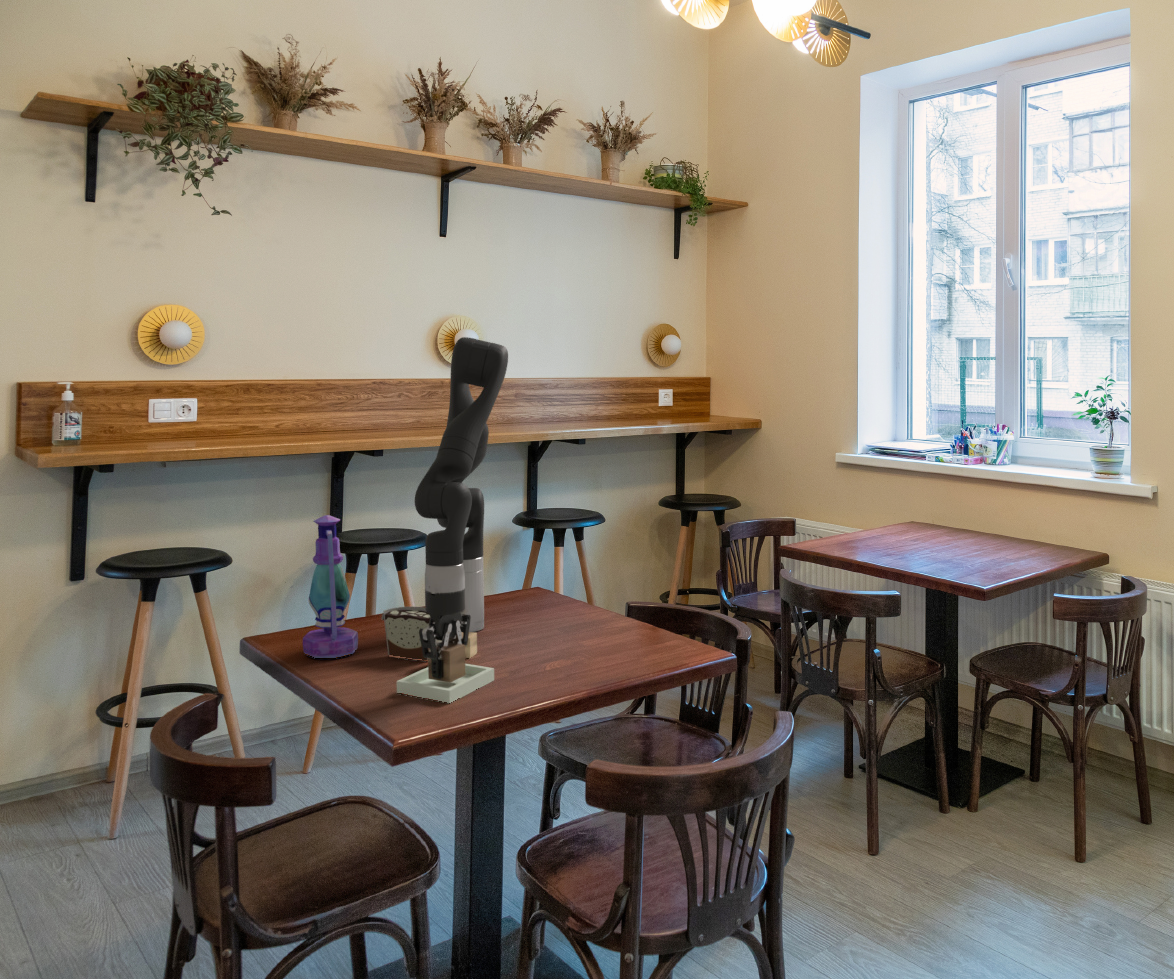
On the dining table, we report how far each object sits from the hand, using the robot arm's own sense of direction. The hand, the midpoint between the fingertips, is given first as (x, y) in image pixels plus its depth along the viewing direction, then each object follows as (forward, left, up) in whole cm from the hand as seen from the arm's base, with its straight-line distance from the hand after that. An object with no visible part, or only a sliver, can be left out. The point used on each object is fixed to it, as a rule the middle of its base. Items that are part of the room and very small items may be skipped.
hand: (446, 673), depth 181 cm
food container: (-18, +14, -3) cm, 23 cm away
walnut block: (0, 0, -1) cm, 1 cm away
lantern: (-35, +7, -3) cm, 36 cm away
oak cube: (-9, +19, -3) cm, 21 cm away
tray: (0, 0, -3) cm, 3 cm away
